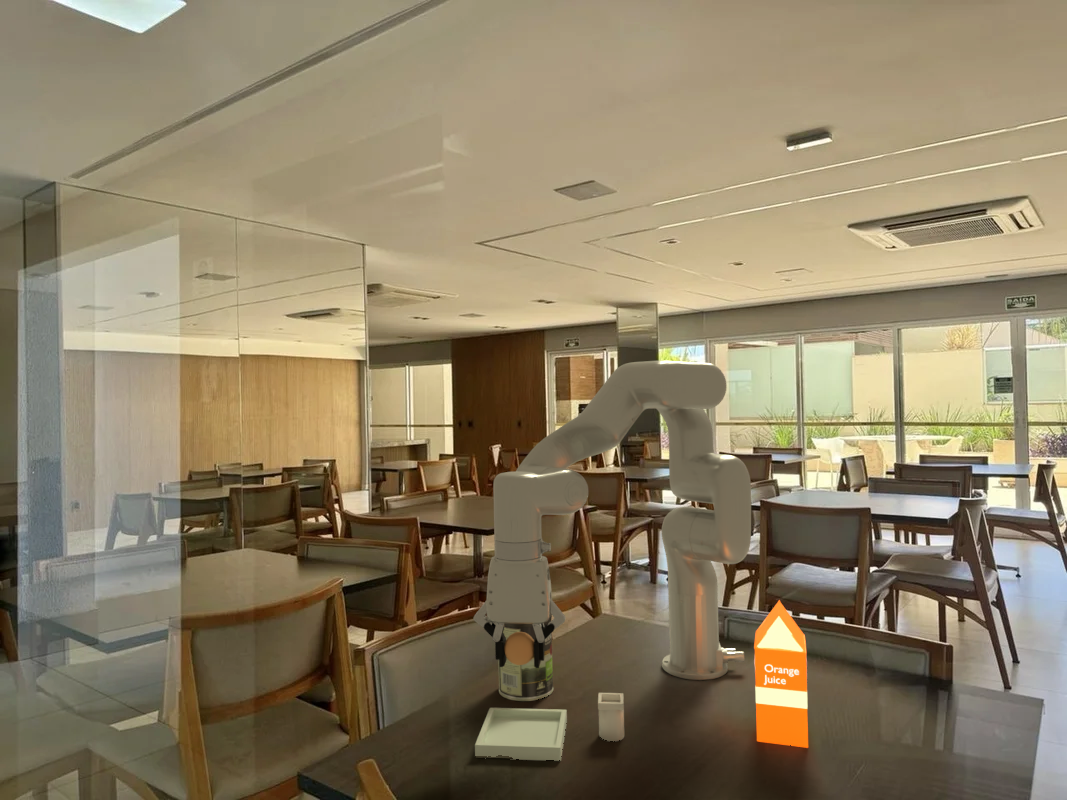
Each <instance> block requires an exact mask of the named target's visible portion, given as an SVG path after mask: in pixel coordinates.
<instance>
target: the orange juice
mask: <svg viewBox="0 0 1067 800" xmlns="http://www.w3.org/2000/svg"><path fill="white" fill-rule="evenodd" d="M805 635H806V634H804V633H803V631H802V630H801V629H800V627H799V626H798V624H797V622H796V621H795V620H794V619H793V617H792V616H791V615H790V613H789V612H788V611H787V609H786V608H785V607H784V605H783V604H782V602H781V600H780V599H779V600H778V601H777V603H776V604H775V605H774V607H772V610H771V611H770V612H769V613H768V614H767V616H766V617H765V618H764V620H763V621H762V623H761V624H760V625H759V626H758V628H757V629H756V630H755V635H754V644H753V649H754V660H753V662H754V674H755V685H754V686H755V687H754V689H755V709H756V711H755V713H756V714H755V715H756V717H755V718H756V721H755V722H756V723H755V724H756V742H760V743H765V744H766V743H767V744H775V745H783V746H789V747H790V745H791V746H792V747H798V748H799V747H800V748H804V749H805V748H806V749H808V748H809V727H808V726H809V724H808V720H809V719H808V683H807V682H808V680H807V679H808V673H807V672H808V669H807V642H806V636H805Z"/></svg>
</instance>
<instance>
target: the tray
mask: <svg viewBox="0 0 1067 800" xmlns="http://www.w3.org/2000/svg"><path fill="white" fill-rule="evenodd" d="M567 711H568V710H567V709H559V708H558V709H553V708H552V709H551V708H517V707H515V708H514V707H513V708H512V707H489V709H488V711H487V714H486V717H485V718H484V721H483V724H482V727H481V729H480V731H479V734H478V736H477V738H476V741H475V744H474V757H475V756H487V757H488V756H491V757H496V756H498V755H502V756H509V757H512V758H513V759H512V760H516V759H519V760H520V761H521V760H523V761H526V760H527V761H546V760H554V761H553V762H561V761H562V757H563V750H564V744H563V743H564V742H565V737H564V736H566V731H565V729H566V730H567V724H568V712H567ZM566 723H567V724H566ZM562 749H563V750H562ZM561 756H562V757H561ZM559 760H560V761H559Z"/></svg>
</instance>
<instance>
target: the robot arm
mask: <svg viewBox="0 0 1067 800" xmlns="http://www.w3.org/2000/svg"><path fill="white" fill-rule="evenodd" d="M726 392H727V380H726V376H725V374H724V373H723V371H722V370H721V368H719V367H718V366H716V364H713V363H710V362H696V361H695V362H692V361H690V362H689V361H677V360H648V361H634V362H628V363H624V364H622V365H620V366H618V367H617V368H616V369H615V370H614V371H613V372H612V374H610V376H609V377H608V378H607V380H606V381H605V382H604V384H603V385H602V386H601V387H600V389H599V390H598V391H597V392H596V393H595V395H594V396H593V397H592V399H590V401H589V403H588V404H587V405H586V406H585V408H584V409H583V410H582V411H581V413H580V414H579V415H577V416H576V417H574V418H572V419H571V420H569V421H568V422H566V423H565V424H564V425H561V426H560V427H558V428H557V429H556V430H554V431H553V432H551V433H550V434H548V435H547V436H545V437H544V438H543V439H541V441H539V442H538V443H537V444H536V445H535V446H534V447H533V448H532V449H531V450H530V451H529V452H528V454H527V455H526V456H525V458H524V459H523V460H522V462H521V463H520V464H519V465H518V467H517V468H516V471H507V472H501V473H498V474H496V476H495V477H494V479H493V525H494V526H493V527H494V528H493V530H494V531H493V532H494V533H493V534H494V535H493V536H494V537H493V538H494V541H493V543H494V556H492V557H490V562H489V569H488V574H487V589H486V600H485V602H484V603H483V604H482V605H481V607H480V608H479V609H478V611H476V613H475V614H474V616H473V621H474V622H475V623H477V625H479V626H480V627H482V628H484V629H483V630H484V631H485V632H487V633H488V635H489V636H490V637H492V640H493V641H494V643H495V645H494V646H495V648H494V650H495V652H494V653H495V654H494V655H495V660H496V661H498V660H499V666H498V668H499V667H503V666H504V665H505V663H506V660H507V657H506V655H505V652H504V645H505V642H506V637H505V636H504V633H503V631H504V627H505V623H511V624H532V625H533V628H534V631H535V634H536V638H535V642H534V667H535V668H539V666H540V662H541V661H544V640H545V639H546V638H547V637H548V636H549V635H550V634H551V633H553V632H554V631H555V630H556V629H557V628H559V627H560V626H561V625H563V624H564V623H565V621H566V615H565V614H564V613H563V612H562V610H561V609H560V608H559V607H558V606H557V604H556V603H555V601H553V597H552V583H551V582H552V581H551V575H550V567H549V562H548V558H547V556H544V555H543V554H544V553H547V552H551V550H552V543H551V542H547V541H544V540H543V537H542V516H545V515H553V516H554V515H555V516H557V515H558V516H566V515H567V516H568V515H571V514H575V513H576V512H578V511H579V510H580V509H581V508H583V507H584V505H585V504H586V503H587V500H588V498H589V485H588V483H587V481H586V479H585V478H584V477H583V475H582V474H580V473H579V472H577V471H576V470H573V469H570V468H569V467H570V466H572V465H574V464H576V463H577V462H579V461H582V460H584V459H587V458H590V457H594V456H596V455H599V454H602V453H606V452H608V451H610V450H612V449H614V448H616V447H617V446H618V445H619V444H620V443H621V442H622V440H624V437H625V436H626V435H627V433H628V432H629V431H630V429H631V428H632V426H633V425H634V424H635V422H636V421H637V420H638V418H639V417H640V416H641V415H642V413H643V412H644V411H645V410H647V409H656V410H657V412H658V413H659V414H660V416H662V418H663V420H664V422H665V424H666V427H667V432H668V451H669V452H668V463H669V464H668V465H669V466H668V467H669V469H668V470H669V472H668V474H669V475H668V476H669V479H668V480H669V487H670V491H671V492H672V494H673V495H674V496H675V497H677V498H678V499H680V500H681V499H682V500H685V501H687V502H688V501H689V502H696V503H705V504H712V505H713V510H712V509H707V508H700V507H690V506H684V507H683V506H682V507H677V508H673V509H672V510H670V511H669V512H668V513H667V514H666V515H665V516H664V518H663V520H662V521H663V522H662V525H661V539H662V544H663V549H664V553H665V557H666V565H667V580H668V581H667V582H668V583H667V584H668V585H667V586H668V587H667V589H668V590H667V591H668V624H669V625H668V627H669V630H668V631H669V632H668V635H669V636H668V637H669V653H668V654H667V655H665V656H664V657H663V659H662V661H661V666H662V669H663V671H665V672H666V673H668V674H669V675H672V676H674V677H677V678H681V679H686V680H697V681H702V680H703V681H706V680H707V681H708V680H713V679H717V678H720V677H723V676H725V674H726V673H727V672H728V670H729V668H728V662H735V663H745V652H744V651H736V648H732V647H731V648H724V647H722V646H721V643H720V641H719V640H720V637H719V635H720V633H719V631H720V630H719V592H718V591H719V588H718V587H719V586H718V585H719V584H718V577H717V572H716V570H715V566H714V565H713V563H712V562H715V563H720V564H726V565H735V564H738V563H741V562H742V561H744V559H745V558H746V557H747V555H748V553H749V552H750V551H749V550H750V547H751V541H752V487H751V486H752V485H751V484H752V482H751V476H750V473H749V470H748V468H747V466H746V464H745V463H744V461H743V460H741V459H740V458H739V457H737V456H735V455H731V454H723V453H715V450H714V437H713V435H714V434H713V426H712V423H711V420H710V417H709V416H708V414H707V412H706V410H709V409H713V408H715V407H717V406H718V405H719V404H721V403H722V401H723V400H724V398H725V396H726ZM550 614H552V617H553V619H551V622H549V623H548V624H547V625H546V626H545V627H544V624H543V623H545V622H547V621H548V620H549V616H550Z"/></svg>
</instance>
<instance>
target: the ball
mask: <svg viewBox="0 0 1067 800" xmlns="http://www.w3.org/2000/svg"><path fill="white" fill-rule="evenodd" d="M504 652H505V655H506V657H507V659H508V660H509V661H510V662H511V663H513V664H516V665H524V664H526V663H528V662H529V661H531V659H532V658H533V657H534V640H533V639H532V637H531V636H530V635H529V634H527V633H524V632H515V633H513V634H511V635H510V636H509V637H508V638H507V640H506V642H505V645H504Z"/></svg>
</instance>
